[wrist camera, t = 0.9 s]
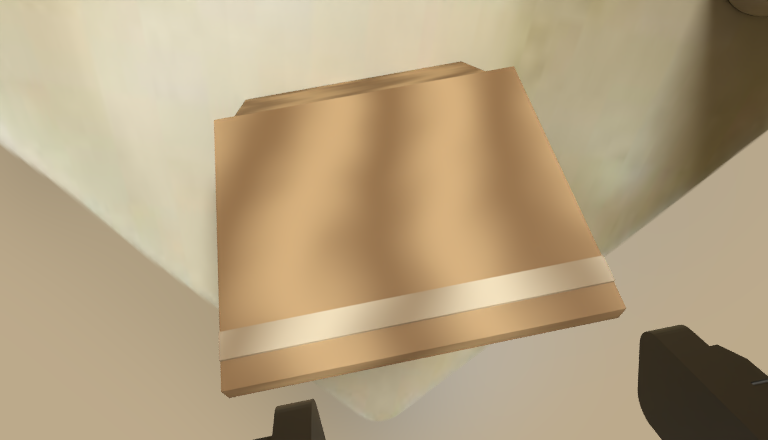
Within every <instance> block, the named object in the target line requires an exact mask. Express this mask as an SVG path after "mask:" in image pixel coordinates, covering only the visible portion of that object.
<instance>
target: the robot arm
mask: <svg viewBox="0 0 768 440" xmlns="http://www.w3.org/2000/svg"><path fill="white" fill-rule="evenodd" d="M729 2H730V3H731V4H732V5H733V6H734V7H735V8H737V9H738V10H740V11H741V12H743V13H747V14H750V15H753V16H768V0H729ZM639 353H640V354H639V373H638V398H639V402H640V406H641V409H642V411H643V413H644V415H645V417H646V419H647V421H648V422H649V424H650V425H651V426H652V428H653V429H654V430H655V432H656V433H657V434H658V435H659V437H660V438H661V439H662V440H768V376H767V375H766V374H765V373H763V372H762V371H761V370H760V369H759V368H757V367H756V366H755V365H754V364H752V363H751V362H750V361H749V360H748V359H746V358H744V357H742V356H740V355H738V354H736V353H734V352H732V351H730V350H727V349H725V348H723V347H721V346H719V345H713V346H709V345H707V344H706V343H705V342H704V341H703V340H702V339H701V338H699V337H698V336H697V335H696V334H695V333H694V332H693V331H692V330H690V329H689V328H688V327H686V326H684V325H677V326H672V327H667V328H663V329H657V330H653V331H648V332H644V333H643V334H642V336H641V338H640V350H639ZM255 440H325V436H324V432H323V428H322V424H321V421H320V417H319V413H318V409H317V406H316V403H315V400H314V399H311V400H306V401H301V402H296V403H291V404H286V405H281V406H277V407H276V409H275V414H274V424H273V434H272V436H269V437H264V438H259V439H255Z"/></svg>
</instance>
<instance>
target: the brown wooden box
mask: <svg viewBox="0 0 768 440" xmlns="http://www.w3.org/2000/svg"><path fill="white" fill-rule="evenodd" d="M480 72H485V71H483V70H481V69H478V68H476V67H473V66H471V65H468V64H466V63H464V62H456V63H451V64H445V65H439V66H434V67H428V68H422V69H417V70H411V71H406V72H400V73H394V74H389V75H383V76H377V77H372V78H366V79H361V80H355V81H349V82H344V83H338V84H332V85H327V86H321V87H316V88H310V89H304V90H299V91H293V92H287V93H282V94H276V95H271V96H265V97H259V98H254V99H248V100H245V102H244V103H243V105H242V106H241V108H240V109H239V110H238V112H237V113H236V115H235V116H240V115H245V114H251V113H257V112H262V111H268V110H273V109H279V108H285V107H290V106H296V105H301V104H307V103H312V102H318V101H324V100H329V99H335V98H340V97H346V96H352V95H357V94H363V93H368V92H374V91H379V90H385V89H391V88H396V87H402V86H407V85H413V84H419V83H424V82H430V81H435V80H441V79H446V78H452V77H458V76H463V75H469V74H474V73H480Z"/></svg>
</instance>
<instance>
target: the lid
mask: <svg viewBox="0 0 768 440" xmlns="http://www.w3.org/2000/svg"><path fill="white" fill-rule="evenodd" d="M214 134H215V172H216V210H217V248H218V286H219V324H220V332H219V361H220V362H221V392H222V393H224V394H225V395H226V396H227V397H229V398H231V397H236V396H240V395H246V394H251V393H255V392H260V391H265V390H270V389H274V388H280V387H285V386H289V385H294V384H299V383H304V382H309V381H314V380H318V379H323V378H328V377H333V376H338V375H343V374H348V373H352V372H357V371H362V370H367V369H372V368H377V367H381V366H386V365H391V364H396V363H401V362H406V361H411V360H415V359H420V358H425V357H430V356H435V355H440V354H444V353H449V352H454V351H459V350H464V349H469V348H474V347H478V346H483V345H488V344H493V343H498V342H503V341H507V340H512V339H517V338H522V337H527V336H532V335H536V334H541V333H546V332H551V331H556V330H560V329H565V328H570V327H575V326H580V325H585V324H590V323H594V322H599V321H604V320H609V319H614V318H618V317H619V316H620V315H621V314H622V313H623V312H624V310H625V309H626V307H625V305H624V303H623V301H622V298H621V296H620V294H619V292H618V290H617V288H616V286H615V283H614V281H615V280H614V277H613V275H612V273H611V271H610V269H609V266H608V264H607V262H606V260H605V258H604V256H603V255H601V253H600V251H599V249H598V247H597V245H596V242H595V240H594V238H593V236H592V234H591V232H590V229H589V227H588V225H587V223H586V221H585V219H584V217H583V214H582V212H581V210H580V208H579V206H578V204H577V202H576V199H575V197H574V195H573V193H572V191H571V189H570V186H569V184H568V182H567V180H566V178H565V176H564V174H563V171H562V169H561V167H560V165H559V163H558V161H557V158H556V156H555V154H554V152H553V150H552V148H551V146H550V143H549V141H548V139H547V137H546V135H545V133H544V130H543V128H542V126H541V124H540V122H539V120H538V118H537V115H536V113H535V111H534V109H533V107H532V105H531V102H530V100H529V98H528V96H527V94H526V92H525V90H524V87H523V85H522V83H521V81H520V79H519V77H518V74H517V72H516V70H515V68H514V66H513V67H508V68H502V69H497V70H491V71H486V72H480V73H474V74H469V75H463V76H458V77H452V78H446V79H441V80H435V81H430V82H424V83H419V84H413V85H407V86H402V87H396V88H391V89H385V90H379V91H374V92H368V93H363V94H357V95H352V96H346V97H340V98H335V99H329V100H324V101H318V102H312V103H307V104H301V105H296V106H290V107H285V108H279V109H273V110H268V111H262V112H257V113H251V114H245V115H240V116H234V117H229V118H223V119H218V120H214Z"/></svg>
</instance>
